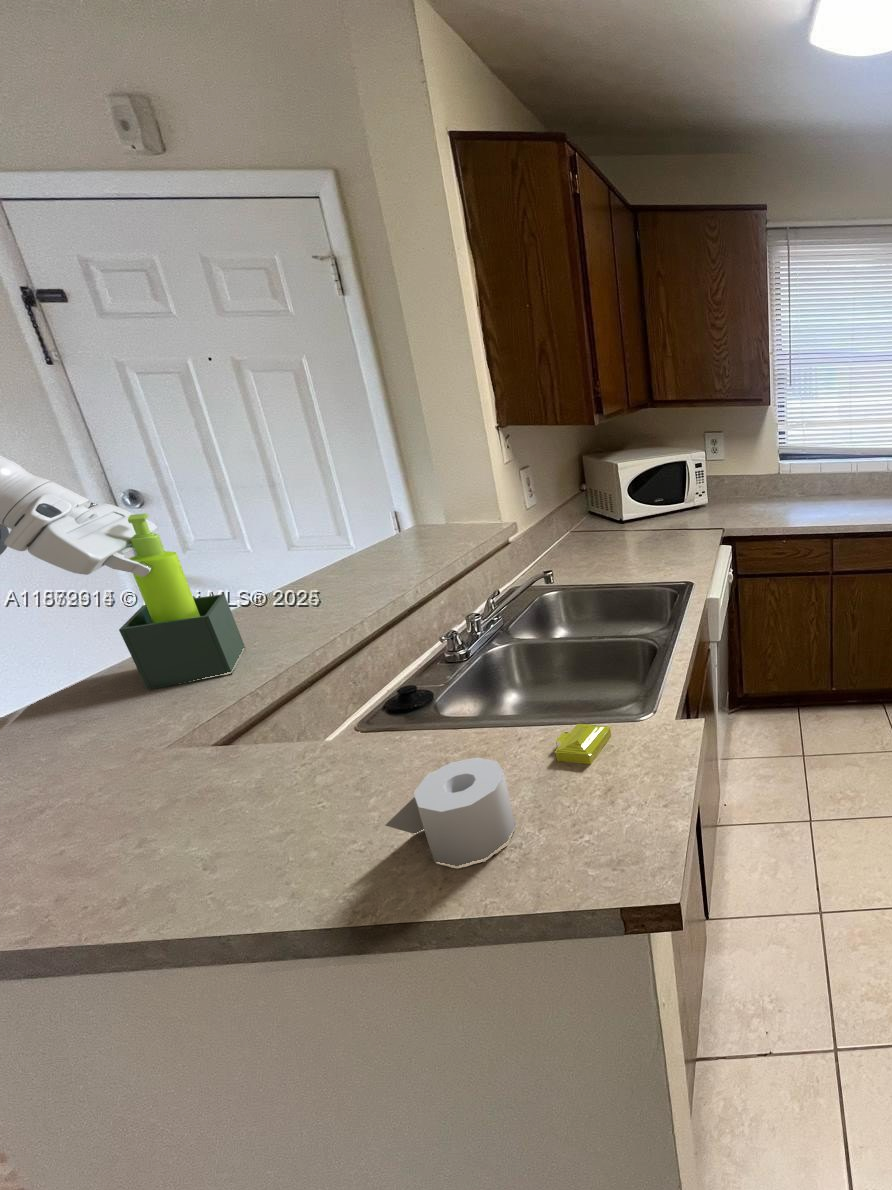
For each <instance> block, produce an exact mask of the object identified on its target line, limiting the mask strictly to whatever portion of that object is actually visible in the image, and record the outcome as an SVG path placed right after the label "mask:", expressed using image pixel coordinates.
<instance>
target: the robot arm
mask: <svg viewBox="0 0 892 1190" xmlns="http://www.w3.org/2000/svg"><path fill="white" fill-rule="evenodd" d="M135 514H136V513H134V512H131V511H129V510H128V509H124V508H123V507H120V506H117V505H115V504H110V503H95V502H92V501H91V500H90V499H88V498H86V497H84V496H83V495H81V494H78V493H76V492H75V491H73V490H71V489H69V488H67V487H65V486H62V485H61V484H59V483H56V482H55V481H53V480H50V479H47V478H44V477H40V476H37V475H35V474H33V473H31V472H29V471H28V470H26V469H24V468H23V467H22V465H20V464H18V463H17V462H14V461H13V460H11V459H9V458H7V457H5V456H3V455H1V454H0V556H1V555H2V554H3V553H4V552H5V551H6V550H7V548H10V549H12V550H14V551H17V552H25V551H27V552H28V553H29V554H30V555H31V556H33V557H35V558H36V559H39V560H42V561H43V562H46V563H48V564H49V565H52V566H55V567H58V568H60V569H62V570H65V571H67V572H70V573H73V574H79V575H83V576H84V575H85V576H88V575H91V574H93V572H95V571H97V570H99V569H101V568H102V567H104V566H106V567H109V568H110V569H112V570H116V571H122V572H126V573H131V574H133V573H134V574H136V575H138V576H140V577H145V576H147V575H148V574H149V573H150V572H151V571H152V570H153V566H151V565H148V564H147V563H145V562H143V561H142V562H140V563H139V562H136V561H133V560H130V559H129V558H126V555H124V554H126V553H128V552H130V551H132V550H134V547H133V545H132V542H131V540H130V538H131V537H133V536H134V535H136V533H135V530H134V528H133V525H132V523H129V522H128V518H129V516H130V515H135ZM146 523H147V525H148V528H149V530H150V533H154V534H155V532H156V531H157V530H158V526H157V525H156V523H154V522H152V521H151V520H149V519H147V518H146ZM9 529H10V530H9ZM164 550H165V551H168V550H167V549H165V548H164Z"/></svg>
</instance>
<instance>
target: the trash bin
mask: <svg viewBox="0 0 892 1190" xmlns="http://www.w3.org/2000/svg"><path fill="white" fill-rule="evenodd" d="M193 598H194V601H195V604H196V606H197V609H198V612H199V614H200V616H199V617H193V618H186V619H179V620H173V621H166V622H159V623H153V621H152V619H151V617H150V614H149V612H148V609H147V607H146V604H143V605H142V606H141V607H140V608H138V610H137V611H136V612H134V614H133V615H132V616H131V617H130V618H128V620H127V621H125V623H124V624H122V626H121V627H120V628H119V629H118V631H119V633H120V635H121V637H122V640H123V642H124V644H125V646H126V648H127V650H128V652H129V654H130V656H131V658H132V661H133V663H134V665H135V667H136V669H137V671H138V673H139V676H140V677H141V680H142V681H143V683H144V686H145V688H146V690H147V691H151V690H157V689H161V688H163V689H164V688H167V686H168V687H171V686H170V685H173V686H176V685H175V684H179V683H184V682H189V681H193V680H197V679H202V678H205V677H210V676H215V675H220V674H224V673H227V672H231V671H232V669H233V667H234V665H235V663H236V661H237V659H238V658H239V655H240V654H241V652H242V649H243V648H244V646H245V643H244V641H243V638H242V635H241V633H240V630H239V628H238V625H237V623H236V620H235V617H234V616H233V612H232V610H231V608H230V604H229V602H228V600H227V597H226V594H225V593H222V594H216V595H209V596H208V595H207V596H201V597H193ZM189 683H190V682H189ZM184 684H185V683H184ZM179 685H180V684H179Z"/></svg>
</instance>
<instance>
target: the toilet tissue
mask: <svg viewBox="0 0 892 1190" xmlns="http://www.w3.org/2000/svg"><path fill="white" fill-rule="evenodd" d="M514 815H515V814H514V811H513V806H512V802H511V797H510V794H509V788H508V783H507V779H506V774H505V772H504V770H503V769H502V767H501V765H500V763H499V762H498V761H497V760H493V759H489V758H488V759H487V758H483V757H478V756H475V757H470V758H466V759H461V760H456V761H452V762H451V761H450V762H448V763H447V764H445V765H443V766H441V767H439V768H438V769H436V770H434V771H432V772H431V773H429V774H427V775H425V776H424V777H423V779H422V780H421V782H420V783H419V784H418V786H417V787H416V789H415V790H414V791H413V798H411V799H410V800H409V802H407V803H406V804H405V805H404V806H403V807H402V808H401V809H400V810H399V811H398V812H397V813H396V814H395V815H394V816H393V817H392V818H391V819H390V820H389V821H387V822H386V823H385V824H384V826H385V827H388V828H391V829H395V830H399V831H403V832H407V833H410V834H414V833H416V834H418V833H420V832H422V831H421V830H423V829H424V830H423V831H424V833H425V838H426V840H427V843H428V848H429V851H430V853H431V855H433V856H432V859H433V861H434V860H435V861H434V863H435V862H440V863H445V864H450V865H455V866H459V865H462V864H466V863H470V862H472V861H477V860H481V859H484V858H486V857H488V856H489V855H490V854H491V853H493V852H494V851H495V850H497V849H498V848H499V847H500V846H502V845H503V844H504V843H506V842H507V841H508V839H509V836H510V835H511V833H512V831H513V829H514V827H515V825H516V826H517V824H516V821H515V816H514ZM419 831H420V832H419ZM417 832H418V833H417ZM414 835H415V834H414Z"/></svg>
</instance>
